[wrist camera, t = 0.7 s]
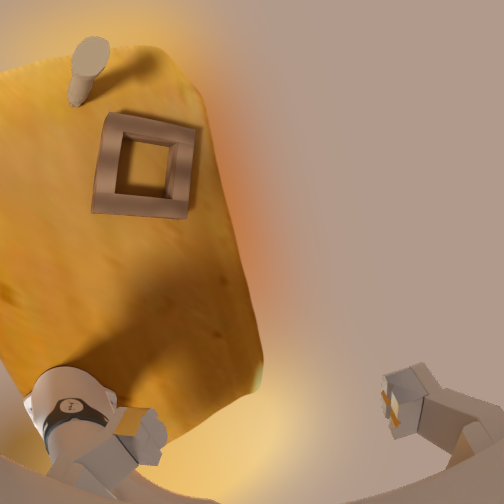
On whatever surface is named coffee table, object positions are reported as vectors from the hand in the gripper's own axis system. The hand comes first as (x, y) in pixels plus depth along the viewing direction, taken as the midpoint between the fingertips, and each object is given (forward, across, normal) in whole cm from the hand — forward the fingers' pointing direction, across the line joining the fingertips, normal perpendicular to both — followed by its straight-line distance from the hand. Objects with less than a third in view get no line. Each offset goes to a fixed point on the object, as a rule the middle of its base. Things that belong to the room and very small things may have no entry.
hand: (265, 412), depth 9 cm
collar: (+40, -19, +14) cm, 46 cm away
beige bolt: (+33, -26, +30) cm, 51 cm away
